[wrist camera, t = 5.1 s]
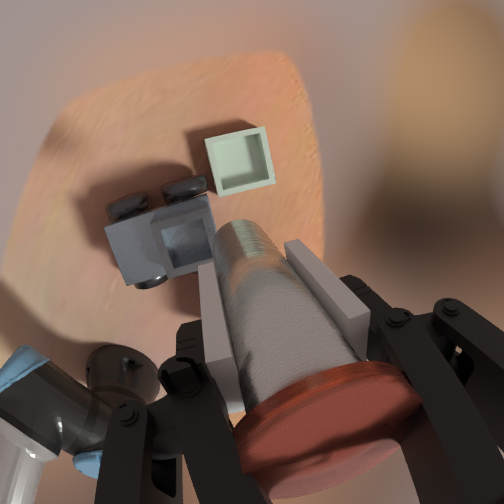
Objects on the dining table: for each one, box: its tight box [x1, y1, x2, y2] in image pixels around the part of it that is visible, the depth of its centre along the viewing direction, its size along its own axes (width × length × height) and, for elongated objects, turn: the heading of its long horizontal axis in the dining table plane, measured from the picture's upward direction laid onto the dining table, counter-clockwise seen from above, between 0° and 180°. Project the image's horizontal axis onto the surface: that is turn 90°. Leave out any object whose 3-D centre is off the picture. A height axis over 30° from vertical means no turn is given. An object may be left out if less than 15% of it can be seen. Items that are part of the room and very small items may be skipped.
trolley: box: [104, 174, 217, 289], centre depth 34 cm, size 14×12×11 cm
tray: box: [204, 126, 276, 197], centre depth 37 cm, size 8×8×3 cm
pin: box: [212, 220, 424, 499], centre depth 11 cm, size 5×5×14 cm
